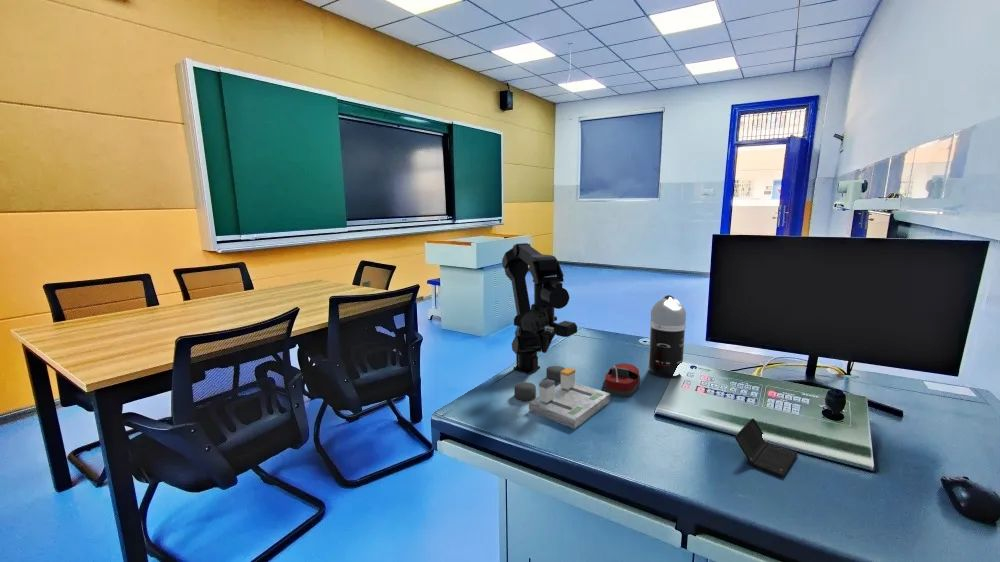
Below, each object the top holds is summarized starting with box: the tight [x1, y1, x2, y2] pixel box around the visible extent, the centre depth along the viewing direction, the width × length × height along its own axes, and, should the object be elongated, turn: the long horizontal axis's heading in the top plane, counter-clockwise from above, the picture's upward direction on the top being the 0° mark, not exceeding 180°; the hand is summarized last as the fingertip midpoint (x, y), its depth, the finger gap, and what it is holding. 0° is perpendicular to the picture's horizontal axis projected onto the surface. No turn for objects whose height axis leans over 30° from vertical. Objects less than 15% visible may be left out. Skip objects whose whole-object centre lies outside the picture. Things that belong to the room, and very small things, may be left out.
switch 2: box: [560, 367, 576, 390], centre depth 119 cm, size 2×4×5 cm
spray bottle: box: [648, 294, 687, 378], centre depth 132 cm, size 10×10×25 cm
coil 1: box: [514, 381, 537, 402], centre depth 120 cm, size 6×6×3 cm
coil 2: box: [546, 365, 566, 384], centre depth 131 cm, size 6×6×3 cm
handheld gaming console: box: [734, 418, 798, 479], centre depth 90 cm, size 12×7×10 cm
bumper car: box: [602, 362, 641, 398], centre depth 124 cm, size 10×20×10 cm, turn 152°
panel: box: [528, 382, 611, 430], centre depth 114 cm, size 14×18×3 cm
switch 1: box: [538, 378, 556, 403], centre depth 112 cm, size 2×4×5 cm
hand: (544, 352), depth 124 cm, fingers closed
